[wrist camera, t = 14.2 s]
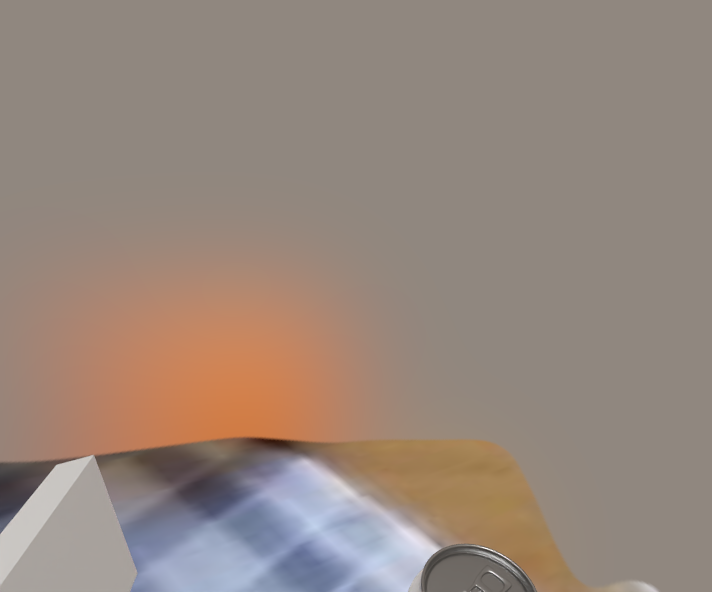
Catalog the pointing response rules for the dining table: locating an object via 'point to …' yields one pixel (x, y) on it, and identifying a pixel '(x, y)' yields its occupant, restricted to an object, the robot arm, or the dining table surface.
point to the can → (471, 572)
